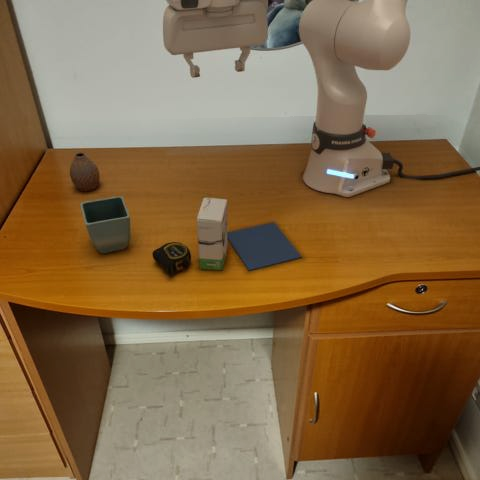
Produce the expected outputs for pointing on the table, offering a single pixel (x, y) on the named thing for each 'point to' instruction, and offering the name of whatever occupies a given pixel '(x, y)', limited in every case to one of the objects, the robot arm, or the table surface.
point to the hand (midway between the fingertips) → (217, 73)
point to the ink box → (212, 233)
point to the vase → (84, 172)
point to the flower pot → (107, 223)
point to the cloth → (262, 246)
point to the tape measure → (172, 257)
